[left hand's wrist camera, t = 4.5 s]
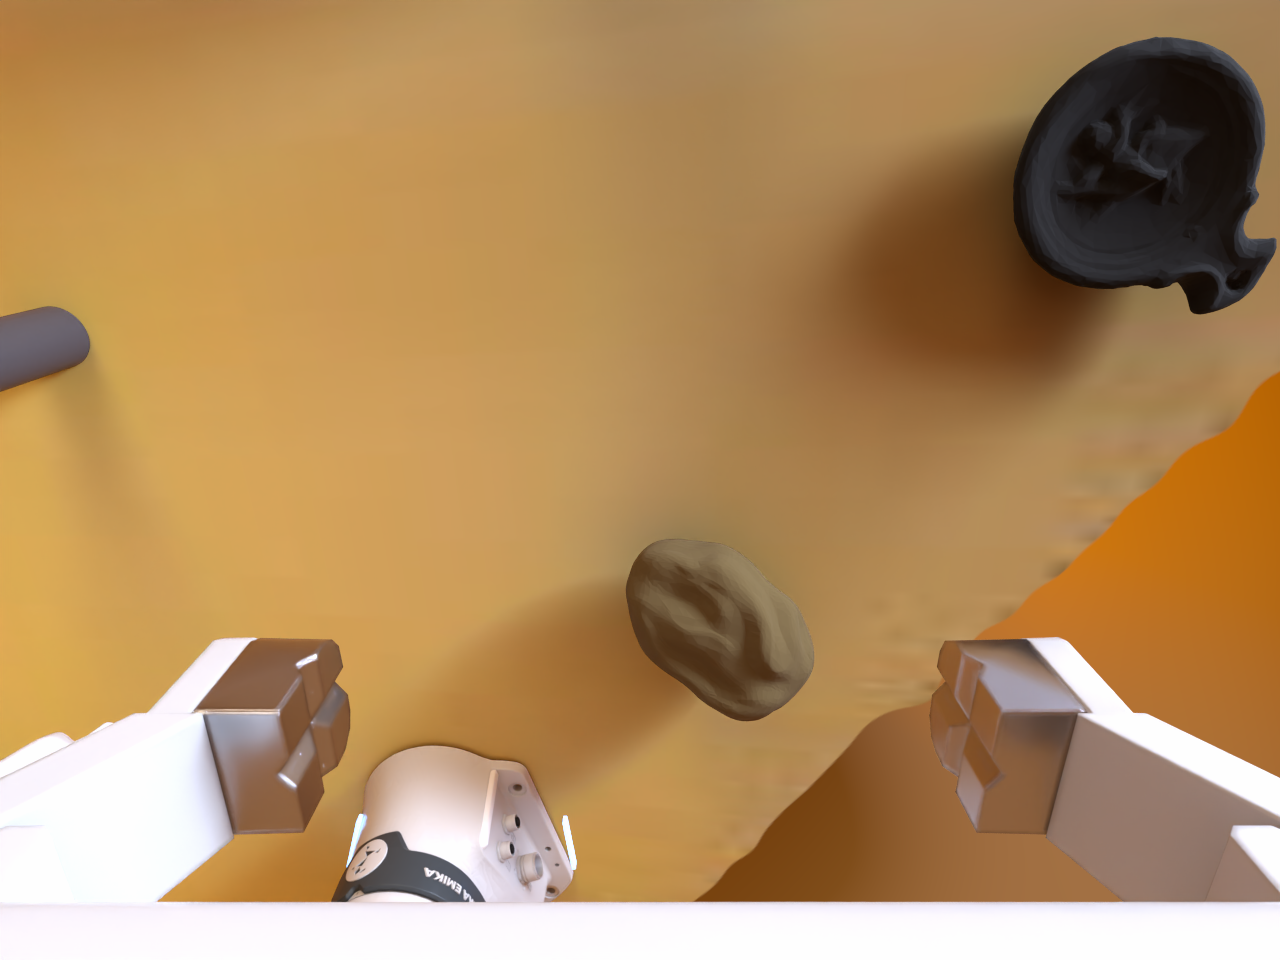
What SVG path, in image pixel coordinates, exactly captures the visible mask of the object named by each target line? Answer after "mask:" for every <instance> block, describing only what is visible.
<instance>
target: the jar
mask: <svg viewBox="0 0 1280 960" xmlns="http://www.w3.org/2000/svg"><path fill="white" fill-rule="evenodd" d="M88 352H89V337H88V334H87V332H86V330H85V328H84V326H83V325H82V323H81V322H80V321H79V320H78V319H77V318H76V317H75V316H73V315H72V314H71V313H69V312H67V311H65V310H63V309H60V308H57V307H42V308H37V309H33V310H29V311H24V312H20V313H16V314H11V315H7V316H3V317H0V392H1V391H4V390H7V389H10V388H13V387H16V386H18V385H21V384H24V383H27V382H30V381H33V380H36V379H39V378H42V377H44V376H47V375H50V374H53V373H56V372H59V371H62V370H65V369H67V368H70V367H73V366H76V365H78V364H80V363H81V362H82V361H83V360H84V359H85V358H86V356H87V354H88Z"/></svg>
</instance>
